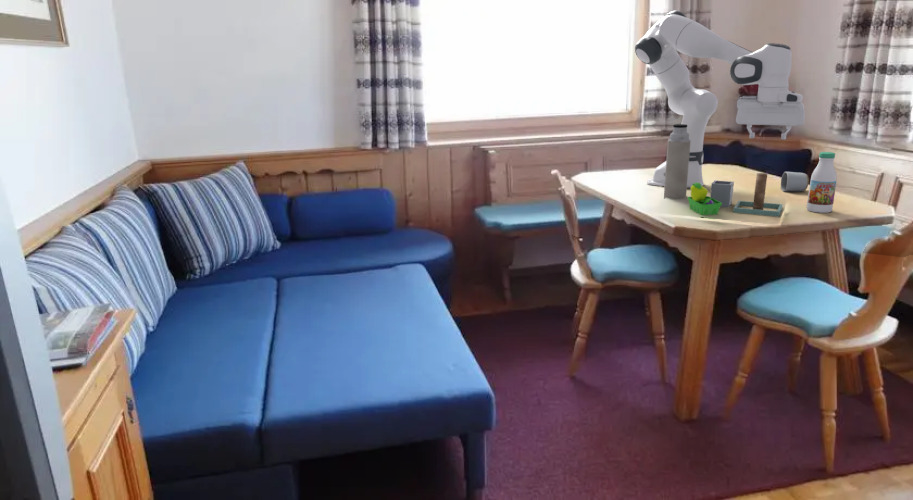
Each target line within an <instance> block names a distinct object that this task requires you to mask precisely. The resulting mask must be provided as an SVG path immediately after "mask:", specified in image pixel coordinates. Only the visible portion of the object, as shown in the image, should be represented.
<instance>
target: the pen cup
mask: <svg viewBox="0 0 913 500" xmlns="http://www.w3.org/2000/svg"><path fill="white" fill-rule="evenodd" d="M734 184H735V181H730V180H729V181H728V180H716V179H715V180H713V182H712V183H711V186H710V195H709V197H711V198H713V199H715V200H717V201H719V202H721V203H722V205H721V206H720V208H730V207H731V206H732V203H733V195H734V186H735V185H734Z"/></svg>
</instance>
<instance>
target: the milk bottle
mask: <svg viewBox="0 0 913 500" xmlns="http://www.w3.org/2000/svg"><path fill="white" fill-rule="evenodd" d="M835 157H836V153H835V152H831V151H820V152H819V154H818V159H819V161H818V164H817V166H816V167H815V168H814V169H813V171H812V173H811V177H810V180H809V181H810V182H809V186H808V187H809V189H808V195H807V202H806V210H807V211H809V212H812V213H817V214H818V213H819V214H827V213H832V211H833V208H834V201H835V194H836V187H837V177H838V176H837V171H836V169H835V166H834V161H835Z"/></svg>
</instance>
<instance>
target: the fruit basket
mask: <svg viewBox="0 0 913 500" xmlns="http://www.w3.org/2000/svg"><path fill="white" fill-rule="evenodd" d="M708 192H709V191H708V188H705V187H704V185H703V186H701V184H700V183H695V184H694V183H693V185H692V186H691V187H690V196H687V201H688V205H689V209H690V210H691V211H693V212H696V213H697V214H699V215H700V218H701V219H702V218H703V219H704V218H708V217H706V216H711V215H712V216H713V215H718V213H719V210H720V208H721V207H720V206H721V205H722V203H721V202H719V201H717V200H715V199H713V198H711V197H710V195H708ZM704 216H705V217H704Z"/></svg>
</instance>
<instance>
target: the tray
mask: <svg viewBox="0 0 913 500" xmlns="http://www.w3.org/2000/svg"><path fill="white" fill-rule="evenodd" d="M753 202H754V201H746V200H738V201H737V202H736V204H735V205H734V206H733V211H732V213H734V214H735V213H737V214H748V215H758V216H769V217H780V215H781V213H782V209H783V206H784V204H783V203H772V202H764V206H763V210H758V209H753ZM741 206H742V207H741ZM745 207H746V208H745ZM747 207H752V208H747ZM764 208H766V209H767V210H766V209H764ZM769 209H775V210H769ZM776 209H777V210H776Z"/></svg>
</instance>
